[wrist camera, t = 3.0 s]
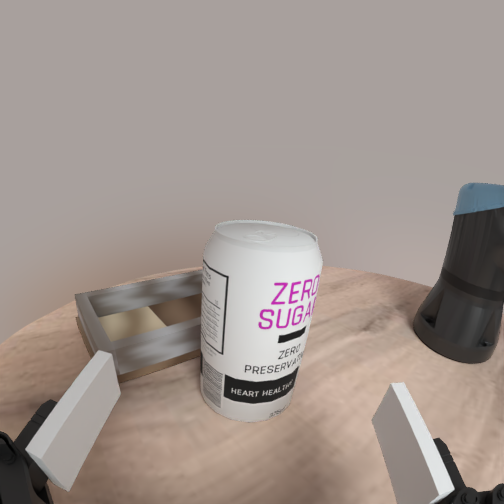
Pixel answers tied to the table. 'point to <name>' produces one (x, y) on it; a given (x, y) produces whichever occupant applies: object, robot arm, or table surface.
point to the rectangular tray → (144, 323)
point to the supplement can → (256, 315)
